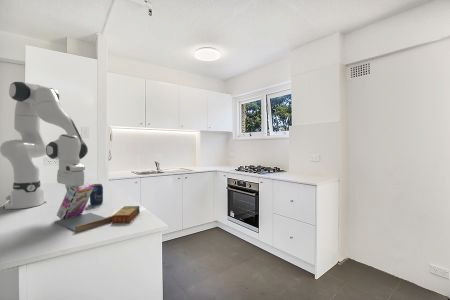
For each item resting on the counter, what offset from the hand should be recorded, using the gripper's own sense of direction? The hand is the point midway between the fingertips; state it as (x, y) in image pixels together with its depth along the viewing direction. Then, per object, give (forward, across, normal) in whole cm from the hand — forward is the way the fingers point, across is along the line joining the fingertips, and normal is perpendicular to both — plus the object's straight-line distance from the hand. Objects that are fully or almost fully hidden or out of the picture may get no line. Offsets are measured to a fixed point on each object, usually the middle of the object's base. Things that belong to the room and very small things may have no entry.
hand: (70, 193), depth 111 cm
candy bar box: (+11, 0, 0) cm, 11 cm away
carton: (+13, +25, +15) cm, 32 cm away
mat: (+12, +13, 0) cm, 18 cm away
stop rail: (+12, +23, 0) cm, 26 cm away
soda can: (+12, -12, +20) cm, 26 cm away
